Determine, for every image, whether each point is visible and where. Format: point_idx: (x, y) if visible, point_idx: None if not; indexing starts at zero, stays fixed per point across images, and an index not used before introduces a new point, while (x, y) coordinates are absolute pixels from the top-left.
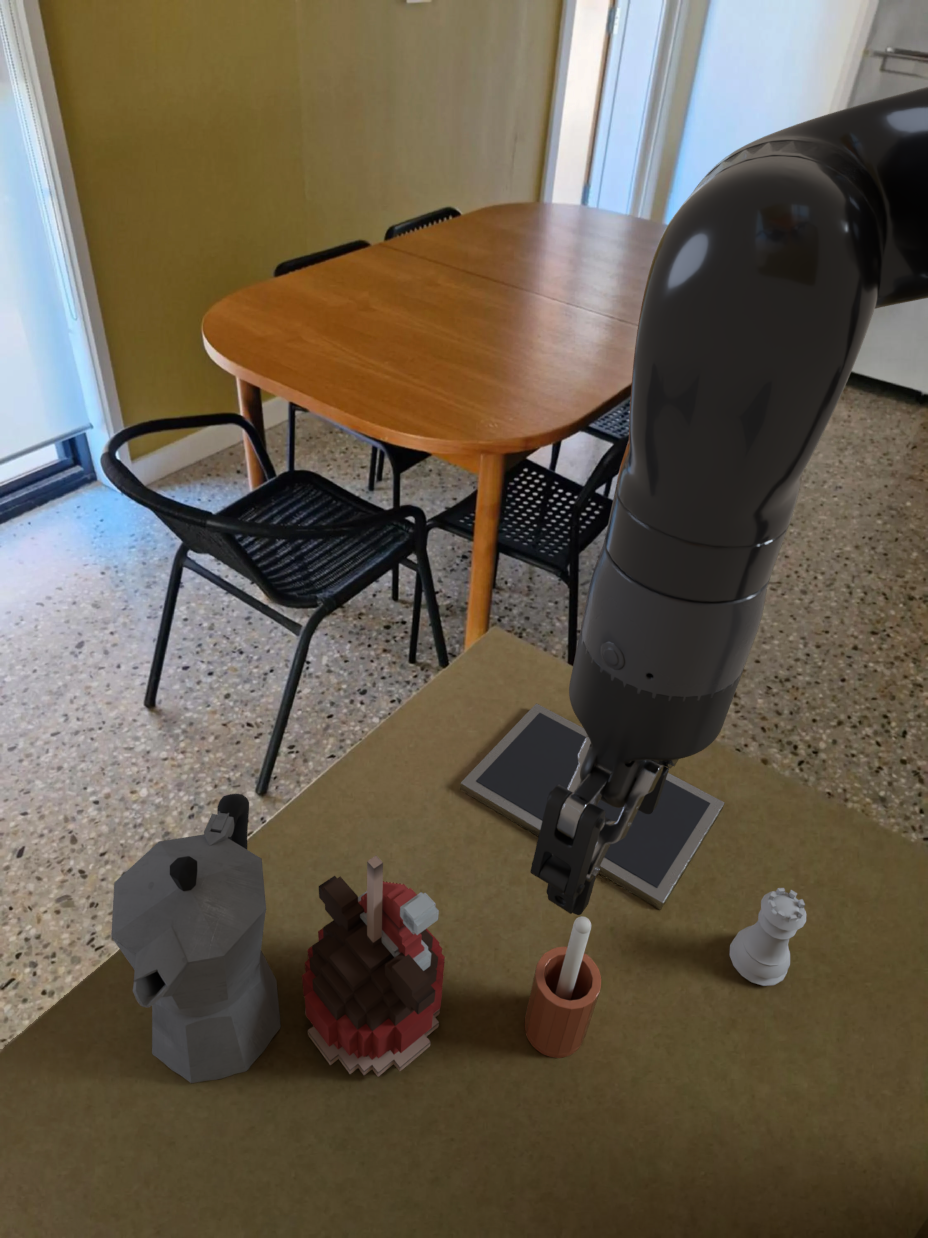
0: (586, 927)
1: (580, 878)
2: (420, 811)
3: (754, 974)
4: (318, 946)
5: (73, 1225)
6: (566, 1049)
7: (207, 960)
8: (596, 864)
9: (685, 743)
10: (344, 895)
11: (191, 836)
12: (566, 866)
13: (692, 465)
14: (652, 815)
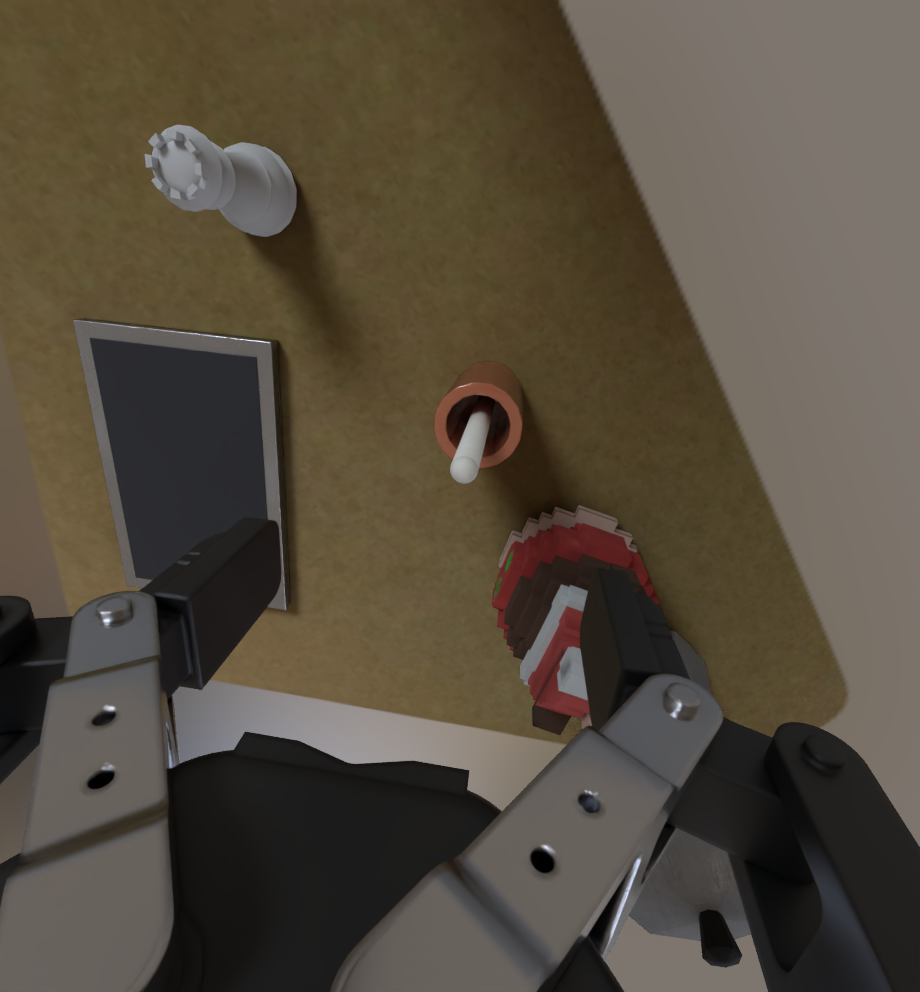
0: (469, 465)
1: (884, 832)
2: (341, 623)
3: (287, 188)
4: None
5: (840, 673)
6: (513, 377)
7: None
8: (700, 737)
9: None
10: (558, 714)
11: None
12: (790, 833)
13: None
14: (165, 401)
